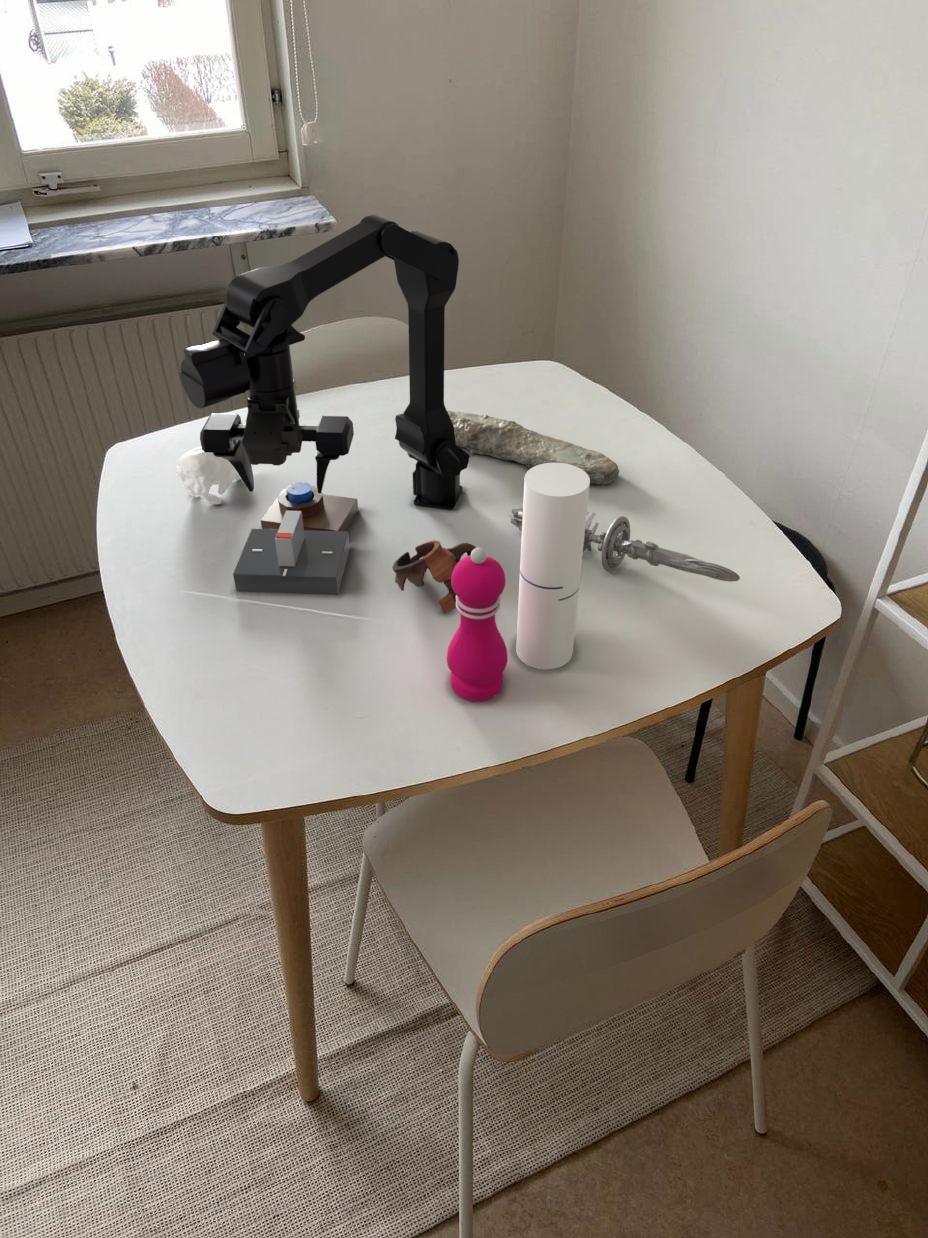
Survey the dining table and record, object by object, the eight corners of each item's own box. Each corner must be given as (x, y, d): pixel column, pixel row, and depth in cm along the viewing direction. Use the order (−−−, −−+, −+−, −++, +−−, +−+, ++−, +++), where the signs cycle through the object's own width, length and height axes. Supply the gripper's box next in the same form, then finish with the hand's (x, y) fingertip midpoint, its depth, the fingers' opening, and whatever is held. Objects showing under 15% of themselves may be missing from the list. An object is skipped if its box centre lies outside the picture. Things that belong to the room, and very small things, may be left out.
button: (316, 493, 139) (314, 483, 138) (307, 506, 136) (306, 495, 135) (293, 490, 139) (292, 480, 138) (284, 503, 137) (283, 493, 136)
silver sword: (725, 583, 115) (750, 535, 118) (491, 519, 132) (517, 478, 135) (729, 618, 121) (752, 571, 124) (505, 552, 139) (530, 513, 141)
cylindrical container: (512, 633, 119) (520, 463, 104) (567, 630, 120) (583, 461, 104) (520, 671, 114) (529, 497, 98) (577, 667, 114) (595, 494, 98)
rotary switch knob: (289, 537, 131) (285, 508, 128) (305, 537, 131) (301, 509, 128) (278, 566, 126) (274, 537, 122) (294, 566, 125) (290, 538, 122)
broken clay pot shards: (430, 628, 121) (401, 576, 118) (404, 616, 129) (376, 567, 126) (502, 579, 124) (475, 526, 121) (472, 570, 132) (446, 521, 130)
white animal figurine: (168, 450, 138) (226, 425, 147) (176, 501, 143) (231, 474, 152) (199, 462, 136) (256, 436, 144) (205, 513, 140) (260, 485, 149)
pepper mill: (500, 709, 109) (506, 572, 96) (441, 700, 110) (438, 564, 97) (510, 668, 114) (517, 534, 102) (453, 660, 115) (453, 526, 103)
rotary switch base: (350, 548, 134) (348, 529, 132) (337, 595, 125) (335, 577, 123) (254, 544, 135) (251, 526, 133) (235, 592, 126) (232, 573, 124)
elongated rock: (600, 504, 146) (625, 479, 153) (606, 475, 142) (631, 450, 149) (415, 437, 158) (445, 417, 165) (416, 409, 155) (447, 389, 162)
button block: (358, 510, 142) (356, 488, 139) (339, 543, 135) (336, 520, 132) (285, 501, 144) (281, 478, 141) (262, 532, 137) (258, 509, 135)
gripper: (176, 410, 108) (201, 522, 118) (335, 414, 107) (346, 526, 117) (202, 369, 116) (222, 477, 126) (349, 372, 116) (358, 480, 126)
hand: (286, 491), depth 124 cm, fingers open, 9 cm apart
